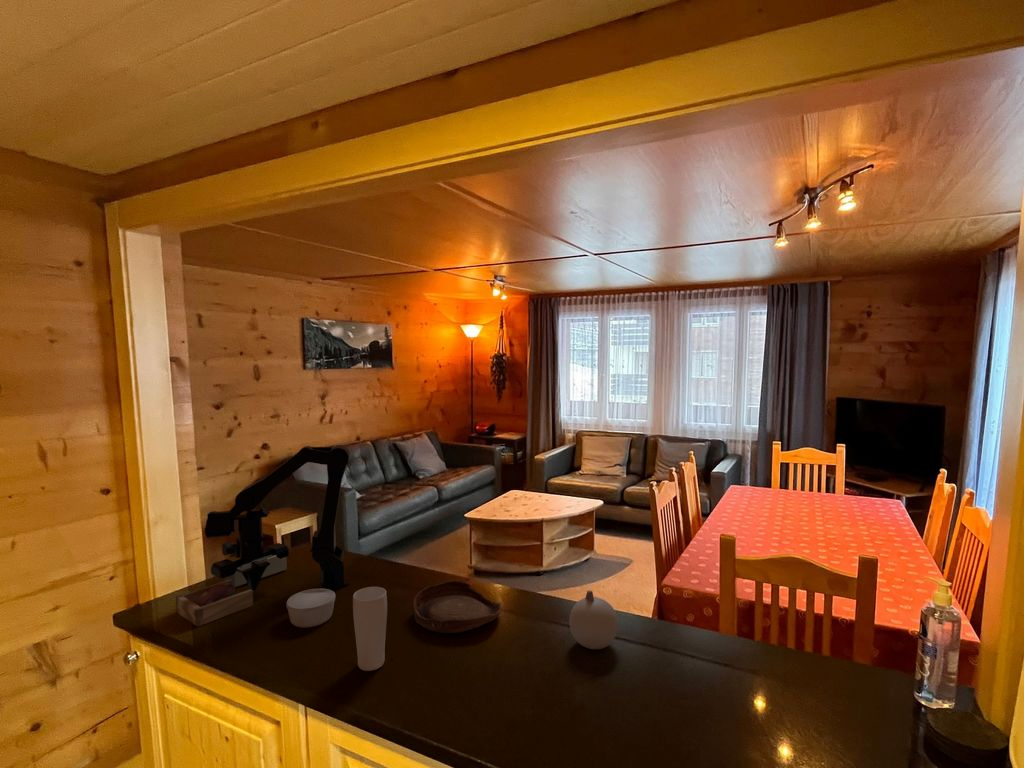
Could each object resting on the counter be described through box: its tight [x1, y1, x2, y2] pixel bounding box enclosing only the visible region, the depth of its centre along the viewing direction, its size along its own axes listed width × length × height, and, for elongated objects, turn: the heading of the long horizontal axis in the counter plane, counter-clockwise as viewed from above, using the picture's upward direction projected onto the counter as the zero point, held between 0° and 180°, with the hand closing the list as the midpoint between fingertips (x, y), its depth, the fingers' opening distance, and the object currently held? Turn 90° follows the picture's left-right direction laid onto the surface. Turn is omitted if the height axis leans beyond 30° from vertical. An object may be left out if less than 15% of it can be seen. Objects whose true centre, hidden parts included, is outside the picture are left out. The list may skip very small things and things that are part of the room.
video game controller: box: [194, 583, 236, 607], centre depth 131 cm, size 10×5×7 cm, turn 157°
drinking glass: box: [352, 586, 388, 672], centre depth 105 cm, size 7×7×15 cm
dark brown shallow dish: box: [412, 580, 503, 634], centre depth 125 cm, size 22×20×5 cm
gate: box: [224, 555, 288, 588], centre depth 148 cm, size 17×3×6 cm, turn 144°
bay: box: [175, 579, 254, 627], centre depth 131 cm, size 12×13×4 cm
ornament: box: [568, 589, 619, 650], centre depth 111 cm, size 10×10×12 cm
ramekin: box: [285, 588, 336, 628], centre depth 125 cm, size 11×11×5 cm
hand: (253, 590), depth 138 cm, fingers closed
